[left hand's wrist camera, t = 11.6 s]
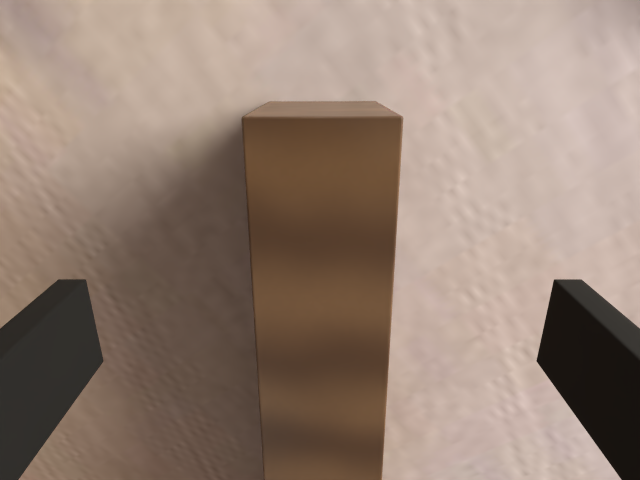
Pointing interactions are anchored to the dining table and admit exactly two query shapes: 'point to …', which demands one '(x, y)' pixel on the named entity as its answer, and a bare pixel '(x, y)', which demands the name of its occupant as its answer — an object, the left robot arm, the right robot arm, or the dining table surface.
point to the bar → (322, 281)
